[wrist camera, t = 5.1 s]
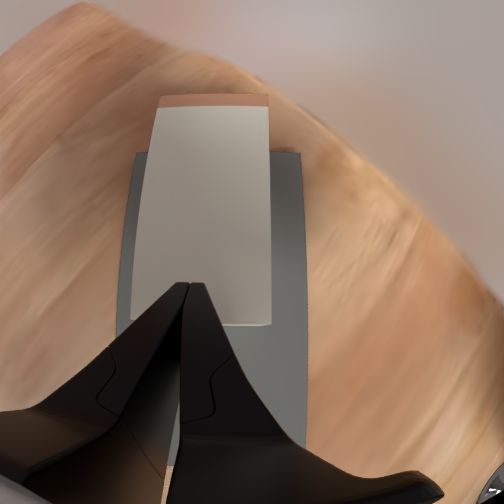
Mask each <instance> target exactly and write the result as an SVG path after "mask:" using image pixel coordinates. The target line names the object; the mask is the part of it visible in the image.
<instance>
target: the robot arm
mask: <svg viewBox="0 0 504 504" xmlns="http://www.w3.org/2000/svg"><path fill="white" fill-rule="evenodd" d="M108 347H109V348H108ZM108 347H106V348H105V349H104V350H103V351H102V352H101V353H100V354H99V355H98V356H97V357H96V358H95V359H94V360H92V361H91V362H90V363H89V364H88V365H87V366H86V367H85V368H83V369H82V370H81V371H80V372H78V373H77V374H76V375H75V376H74V377H72V378H71V379H70V380H68V381H67V382H66V383H65V384H63V385H62V386H61V387H60V388H58V389H57V390H56V391H54V392H53V393H52V394H51V395H49V396H48V397H47V398H46V399H44V400H43V401H41V402H40V403H38V404H37V405H35V406H33V407H30V408H27V409H22V410H14V411H3V412H0V504H161V499H162V493H163V487H164V480H165V474H166V468H167V463H168V457H169V451H170V446H171V441H172V435H173V430H174V425H175V419H176V414H177V409H178V404H179V424H180V433H179V446H178V451H177V455H176V459H175V464H174V468H173V473H172V477H171V481H170V486H169V490H168V495H167V500H166V504H433V503H435V502H436V501H438V500H440V499H441V498H443V497H444V495H445V494H444V492H443V491H442V489H441V488H440V487H439V486H438V485H437V484H436V483H435V482H434V481H433V480H431V479H430V478H428V477H427V476H425V475H424V474H422V473H421V472H419V471H405V472H401V473H396V474H393V475H389V476H385V477H380V478H362V477H357V476H353V475H351V474H349V473H346V472H344V471H343V470H341V469H339V468H337V467H335V466H334V465H332V464H330V463H328V462H326V461H325V460H323V459H321V458H320V457H318V456H316V455H314V454H313V453H311V452H309V451H308V450H306V449H305V448H303V447H301V446H300V445H298V444H297V443H296V442H294V441H293V440H292V439H291V438H290V437H289V436H288V435H287V434H286V432H285V431H284V430H283V429H282V428H281V426H280V425H279V424H278V422H277V421H276V420H275V418H274V417H273V415H272V414H271V413H270V411H269V410H268V409H267V407H266V406H265V404H264V403H263V402H262V400H261V399H260V397H259V396H258V394H257V393H256V391H255V390H254V388H253V387H252V385H251V384H250V382H249V380H248V379H247V377H246V375H245V373H244V371H243V369H242V367H241V365H240V363H239V361H238V359H237V357H236V356H235V353H234V350H233V348H232V346H231V344H230V341H229V339H228V337H227V335H226V332H225V330H224V328H223V326H222V323H221V321H220V319H219V316H218V314H217V312H216V309H215V307H214V305H213V302H212V300H211V298H210V295H209V293H208V290H207V288H206V286H205V284H204V283H203V282H192V283H191V284H190V283H189V282H176V283H175V284H174V285H172V286H171V287H170V288H169V289H168V290H167V291H166V292H165V293H164V294H163V295H162V296H160V297H159V298H158V299H157V300H156V301H155V302H154V303H153V304H152V305H151V306H150V307H149V308H148V309H147V310H145V311H144V312H143V313H142V314H141V315H140V316H139V317H138V318H137V319H136V320H135V321H134V322H133V323H132V324H131V325H129V326H128V327H127V328H126V329H125V330H124V331H123V332H122V333H121V334H120V335H119V336H118V337H117V338H116V339H115V340H114V341H113V342H112V343H111V344H110V345H109V346H108ZM480 504H504V490H502V491H501V492H499V493H497V494H496V495H494V496H492V497H491V498H489V499H487V500H485V501H484V502H482V503H480Z"/></svg>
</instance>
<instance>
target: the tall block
mask: <svg viewBox="0 0 504 504" xmlns="http://www.w3.org/2000/svg"><path fill="white" fill-rule="evenodd" d="M176 282H189V283H190V284H191V283H192V282H203V283H204V284H205V286H206V288H207V290H208V293H209V295H210V298H211V300H212V302H213V305H214V307H215V309H216V312H217V314H218V316H219V319H220V321H221V323H222V325H229V326H263V325H270V324H272V298H271V206H270V159H269V123H268V94H242V93H208V94H180V95H164V96H160V99H159V104H158V108H157V112H156V117H155V121H154V126H153V131H152V136H151V141H150V146H149V151H148V157H147V163H146V168H145V174H144V181H143V187H142V194H141V201H140V208H139V216H138V224H137V233H136V242H135V252H134V264H133V276H132V292H131V312H130V320H136V319H137V318H138V317H139V316H140V315H141V314H142V313H143V312H144V311H145V310H147V309H148V308H149V307H150V306H151V305H152V304H153V303H154V302H155V301H156V300H157V299H158V298H159V297H160V296H162V295H163V294H164V293H165V292H166V291H167V290H168V289H169V288H170V287H171V286H172V285H174V284H175V283H176Z"/></svg>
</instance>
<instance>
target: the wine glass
mask: <svg viewBox="0 0 504 504" xmlns="http://www.w3.org/2000/svg"><path fill="white" fill-rule="evenodd" d="M502 490H504V463H503V464H502V465H501V466H500V467H499V468H498V470H497V471H496V472H495V473H494V474H493V476H492V477H491V478H490V480H489V481H488V483H487V484H486V486H485V487H484V489H483V490H482V492H481V494H480V496H479V498H478V500H477V503H476V504H480V503H482V502H484V501H485V500H487V499H489V498H491V497H492V496H494V495H496V494H497V493H499V492H501V491H502Z"/></svg>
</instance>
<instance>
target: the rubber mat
mask: <svg viewBox="0 0 504 504" xmlns="http://www.w3.org/2000/svg"><path fill="white" fill-rule="evenodd" d="M147 157H148V152H143V153H136V157H135V162H134V168H133V173H132V179H131V185H130V191H129V197H128V203H127V210H126V217H125V225H124V233H123V241H122V250H121V261H120V272H119V285H118V301H117V325H116V338H117V337H118V336H119V335H120V334H121V333H122V332H123V331H124V330H125V329H126V328H127V327H128V326H129V325H131V324H132V323H133V322H134V321H135V320H130V312H131V292H132V276H133V264H134V252H135V242H136V233H137V224H138V216H139V208H140V201H141V194H142V187H143V181H144V174H145V168H146V163H147ZM269 159H270V206H271V298H272V324H270V325H263V326H229V325H222V326H223V328H224V330H225V332H226V335H227V337H228V339H229V341H230V344H231V346H232V348H233V350H234V353H235V356H236V357H237V359H238V361H239V363H240V365H241V367H242V369H243V371H244V373H245V375H246V377H247V379H248V380H249V382H250V384H251V385H252V387H253V388H254V390H255V391H256V393H257V394H258V396H259V397H260V399H261V400H262V402H263V403H264V404H265V406H266V407H267V409H268V410H269V411H270V413H271V414H272V415H273V417H274V418H275V420H276V421H277V422H278V424H279V425H280V426H281V428H282V429H283V430H284V431H285V432H286V434H287V435H288V436H289V437H290V438H291V439H292V440H293V441H294V442H296V443H297V444H298V445H300V446H301V447H303V448H305V449H306V427H307V395H308V292H307V258H306V234H305V214H304V197H303V181H302V167H301V154H300V153H291V152H270V151H269ZM179 433H180V424H179V404H178V409H177V414H176V419H175V425H174V430H173V435H172V441H171V446H170V451H169V457H168V463H167V465H169V466H174V464H175V459H176V455H177V451H178V446H179Z"/></svg>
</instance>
